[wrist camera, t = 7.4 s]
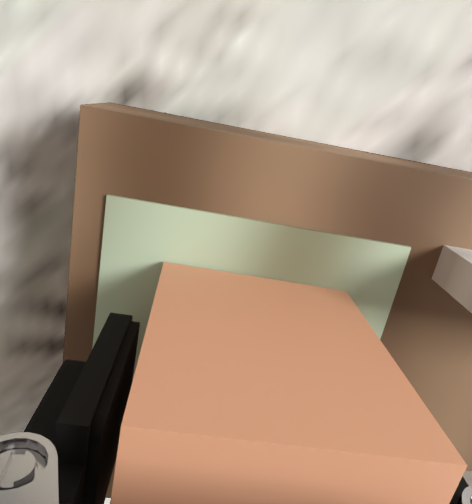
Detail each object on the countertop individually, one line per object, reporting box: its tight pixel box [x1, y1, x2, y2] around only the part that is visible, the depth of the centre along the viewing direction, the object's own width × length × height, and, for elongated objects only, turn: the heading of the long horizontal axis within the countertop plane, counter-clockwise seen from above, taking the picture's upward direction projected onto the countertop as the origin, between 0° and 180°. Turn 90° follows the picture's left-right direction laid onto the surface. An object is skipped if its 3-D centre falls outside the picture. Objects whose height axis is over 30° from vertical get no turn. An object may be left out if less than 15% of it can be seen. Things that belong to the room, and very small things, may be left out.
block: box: [110, 262, 467, 504], centre depth 10 cm, size 5×5×6 cm
